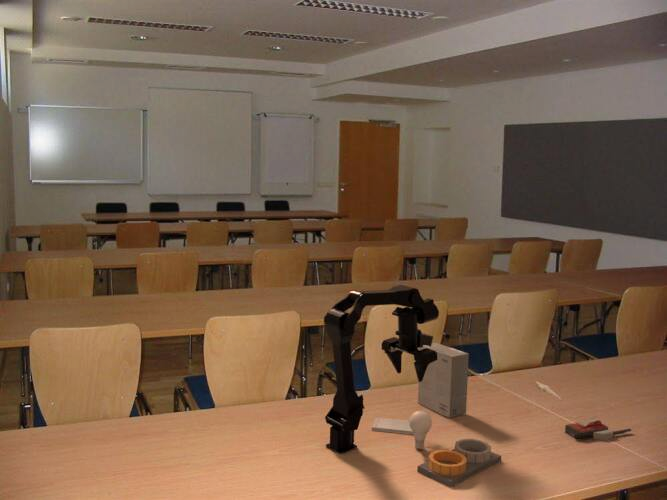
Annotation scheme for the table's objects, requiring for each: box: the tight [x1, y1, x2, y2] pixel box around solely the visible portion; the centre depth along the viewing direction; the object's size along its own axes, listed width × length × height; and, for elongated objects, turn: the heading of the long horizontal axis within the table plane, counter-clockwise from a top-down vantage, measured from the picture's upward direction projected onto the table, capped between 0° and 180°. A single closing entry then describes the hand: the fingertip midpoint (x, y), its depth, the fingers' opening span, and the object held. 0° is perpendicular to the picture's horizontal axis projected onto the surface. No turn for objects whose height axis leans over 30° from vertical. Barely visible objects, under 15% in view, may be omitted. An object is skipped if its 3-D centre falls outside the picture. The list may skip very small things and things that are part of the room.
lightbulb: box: [408, 410, 433, 450], centre depth 193 cm, size 6×6×11 cm
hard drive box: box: [417, 342, 470, 419], centre depth 223 cm, size 16×8×20 cm, turn 34°
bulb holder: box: [417, 438, 502, 487], centre depth 183 cm, size 22×11×4 cm, turn 133°
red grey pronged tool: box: [564, 417, 632, 441], centre depth 206 cm, size 9×4×20 cm
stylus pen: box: [535, 381, 563, 401], centre depth 241 cm, size 15×3×2 cm, turn 17°
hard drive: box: [371, 417, 414, 436], centre depth 209 cm, size 2×8×12 cm
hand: (409, 377), depth 207 cm, fingers open, 9 cm apart
